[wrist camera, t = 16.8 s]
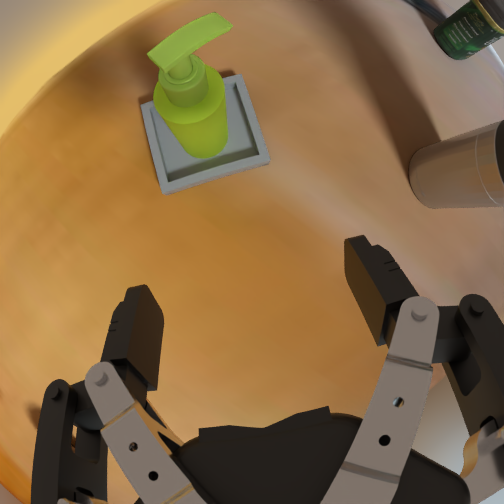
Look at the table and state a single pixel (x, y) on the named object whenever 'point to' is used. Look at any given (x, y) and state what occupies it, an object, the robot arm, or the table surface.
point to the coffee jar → (471, 28)
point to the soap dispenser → (192, 88)
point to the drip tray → (223, 164)
